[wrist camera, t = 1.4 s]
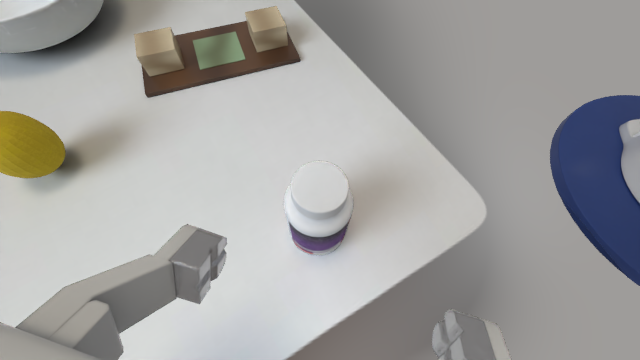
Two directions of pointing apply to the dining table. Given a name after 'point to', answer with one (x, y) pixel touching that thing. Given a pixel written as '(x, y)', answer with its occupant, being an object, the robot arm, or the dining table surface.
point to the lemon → (28, 147)
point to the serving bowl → (43, 22)
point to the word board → (213, 52)
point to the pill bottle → (318, 207)
